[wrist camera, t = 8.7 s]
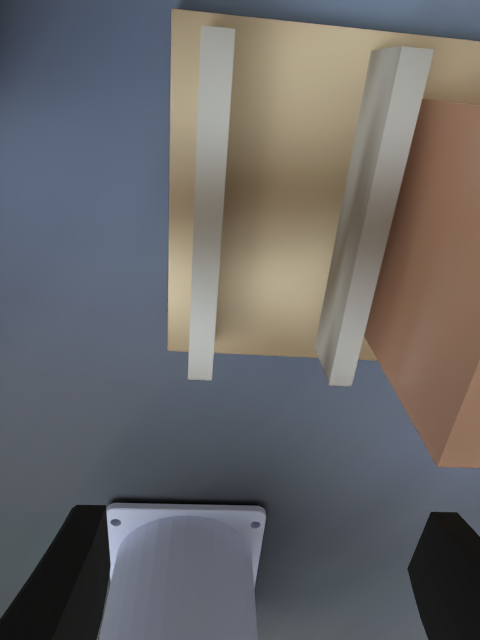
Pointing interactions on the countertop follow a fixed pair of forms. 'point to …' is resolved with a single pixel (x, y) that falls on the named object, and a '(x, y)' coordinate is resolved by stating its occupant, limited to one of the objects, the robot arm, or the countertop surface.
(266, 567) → the countertop surface
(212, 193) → the dish rack
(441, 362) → the upright peach slab
